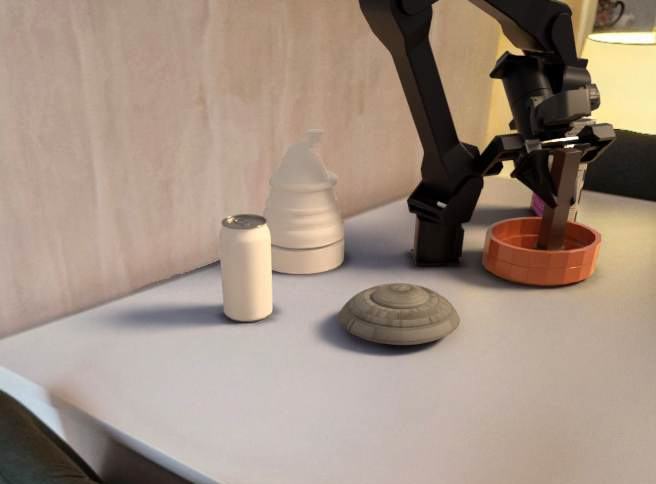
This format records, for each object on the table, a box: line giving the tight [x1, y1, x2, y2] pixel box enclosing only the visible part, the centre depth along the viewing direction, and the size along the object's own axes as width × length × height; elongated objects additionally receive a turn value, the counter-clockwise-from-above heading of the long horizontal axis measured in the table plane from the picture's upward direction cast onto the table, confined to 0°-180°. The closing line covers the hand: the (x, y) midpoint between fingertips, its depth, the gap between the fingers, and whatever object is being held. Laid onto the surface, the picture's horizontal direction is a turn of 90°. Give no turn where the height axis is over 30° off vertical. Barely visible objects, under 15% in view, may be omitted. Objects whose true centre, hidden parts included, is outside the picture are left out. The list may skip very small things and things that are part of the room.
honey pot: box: [262, 128, 346, 275], centre depth 111 cm, size 13×13×18 cm
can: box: [218, 213, 273, 323], centre depth 98 cm, size 6×6×12 cm
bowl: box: [481, 216, 602, 287], centre depth 110 cm, size 16×16×5 cm
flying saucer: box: [338, 282, 461, 346], centre depth 95 cm, size 15×15×6 cm
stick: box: [532, 147, 582, 251], centre depth 106 cm, size 4×4×14 cm
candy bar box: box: [529, 115, 597, 222], centre depth 124 cm, size 11×5×16 cm, turn 179°
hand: (563, 206), depth 105 cm, fingers closed on stick, 2 cm apart
